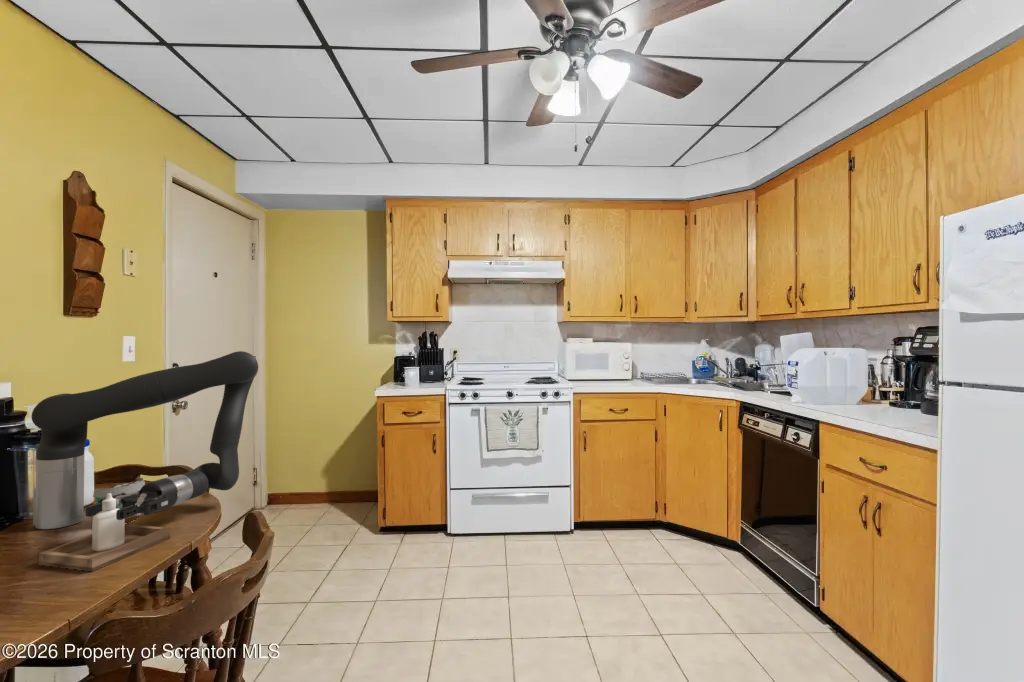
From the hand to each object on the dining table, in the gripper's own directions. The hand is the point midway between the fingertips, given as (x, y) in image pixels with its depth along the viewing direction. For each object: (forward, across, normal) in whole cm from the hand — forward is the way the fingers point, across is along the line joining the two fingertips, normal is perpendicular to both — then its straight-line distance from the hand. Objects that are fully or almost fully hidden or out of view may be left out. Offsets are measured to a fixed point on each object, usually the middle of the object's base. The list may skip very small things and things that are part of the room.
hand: (102, 513), depth 111 cm
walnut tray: (-2, 0, +9) cm, 9 cm away
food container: (-18, -14, +9) cm, 24 cm away
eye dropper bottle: (-2, 0, +8) cm, 8 cm away
